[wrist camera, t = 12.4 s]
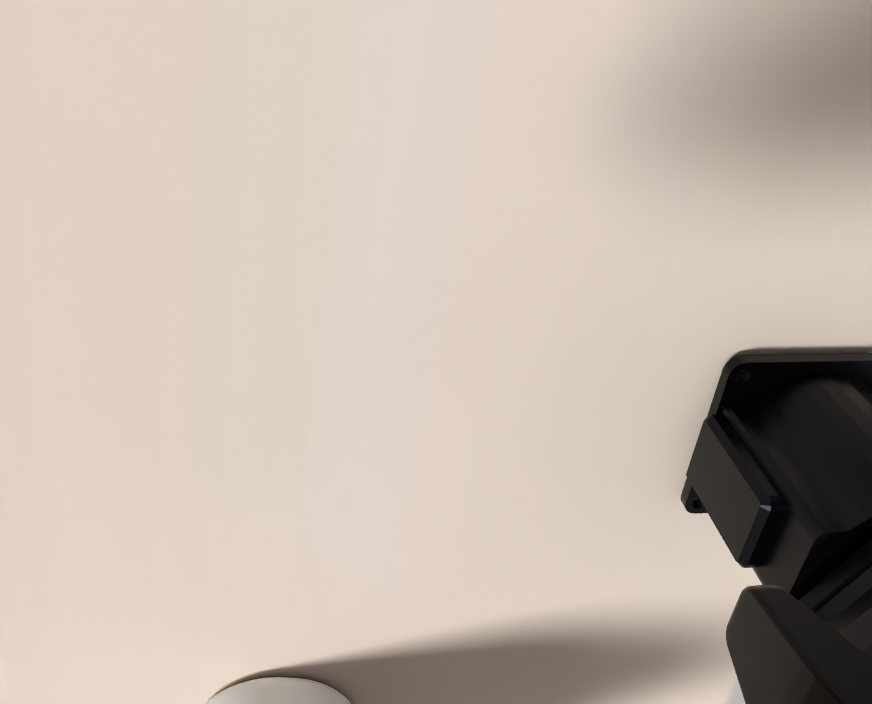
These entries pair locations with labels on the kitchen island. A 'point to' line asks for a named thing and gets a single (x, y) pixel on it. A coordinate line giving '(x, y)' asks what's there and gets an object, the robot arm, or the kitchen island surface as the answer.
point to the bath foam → (279, 692)
